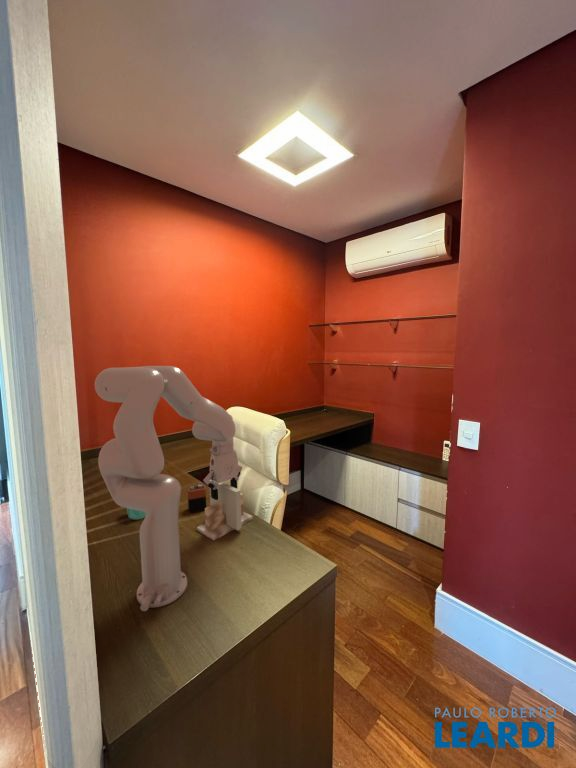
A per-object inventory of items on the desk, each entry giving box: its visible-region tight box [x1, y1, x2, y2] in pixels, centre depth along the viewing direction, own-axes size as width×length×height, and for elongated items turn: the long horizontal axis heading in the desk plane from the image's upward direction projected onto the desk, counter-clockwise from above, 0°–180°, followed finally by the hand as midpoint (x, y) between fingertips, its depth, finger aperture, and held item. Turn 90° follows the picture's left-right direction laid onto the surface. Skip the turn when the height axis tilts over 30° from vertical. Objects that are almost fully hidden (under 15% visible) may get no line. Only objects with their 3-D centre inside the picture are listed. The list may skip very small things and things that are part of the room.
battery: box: [186, 483, 207, 514], centre depth 126 cm, size 4×7×10 cm, turn 113°
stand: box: [196, 492, 254, 541], centre depth 115 cm, size 18×10×9 cm, turn 140°
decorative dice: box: [125, 508, 146, 521], centre depth 123 cm, size 8×8×8 cm
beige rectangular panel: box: [209, 479, 242, 531], centre depth 114 cm, size 2×16×14 cm, turn 48°
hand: (224, 494), depth 114 cm, fingers open, 8 cm apart
